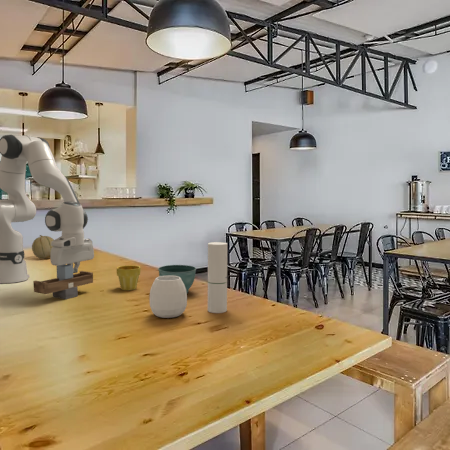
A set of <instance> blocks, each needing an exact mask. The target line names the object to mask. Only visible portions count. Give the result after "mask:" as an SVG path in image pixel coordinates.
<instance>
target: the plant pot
mask: <svg viewBox="0 0 450 450" xmlns="http://www.w3.org/2000/svg"><path fill="white" fill-rule="evenodd" d="M116 276H117V277H118V281H119V285H120V290H122V291H134V290H137V287H138V281H139V276H141V266H140V265H134V264H132V265H130V264H128V265H119V266H117V267H116Z"/></svg>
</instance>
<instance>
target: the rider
mask: <svg viewBox="0 0 450 450" xmlns="http://www.w3.org/2000/svg"><path fill="white" fill-rule="evenodd" d="M73 268H74V264H73V265H67V264H64V265H59V266H56V278H59V281H61V280H66V279H70V278H73V274H74V273H73Z"/></svg>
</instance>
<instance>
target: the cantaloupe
mask: <svg viewBox="0 0 450 450" xmlns="http://www.w3.org/2000/svg"><path fill="white" fill-rule="evenodd" d="M53 240H55V239H54V238H53V237H51V236H48V235H42V234H39V236H38V237H36V238H35V239H34V240H33V242H32V243H31V250H32V253H33V255H34V256H35V257H36V258H38V259H41V260H48V259H51V249H52V247H54V246H51V242H52V241H53Z"/></svg>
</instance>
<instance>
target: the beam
mask: <svg viewBox="0 0 450 450" xmlns="http://www.w3.org/2000/svg"><path fill="white" fill-rule="evenodd" d="M93 283H94V272H92V271H84V270H80V271H79V273H78V272H77V273H73V278H70V279H66V280H61V281H59V278H57V277H56V278H51V279H47V280H41V281H40V280H33V284H32V285H33V293H36V294H42V295H49V294H52V298H55V299H56V298H57V299H62V300H70V299H73V298H76V297H78V295H79V294H78V292H79V291H78V287H81V286H85V285H88V284H93Z"/></svg>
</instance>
